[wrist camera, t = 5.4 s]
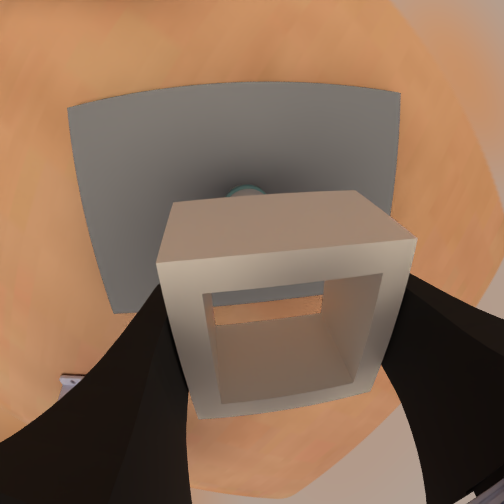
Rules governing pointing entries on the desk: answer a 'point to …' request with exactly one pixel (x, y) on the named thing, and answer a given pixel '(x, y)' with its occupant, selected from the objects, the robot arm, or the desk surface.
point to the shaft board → (221, 164)
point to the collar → (279, 274)
